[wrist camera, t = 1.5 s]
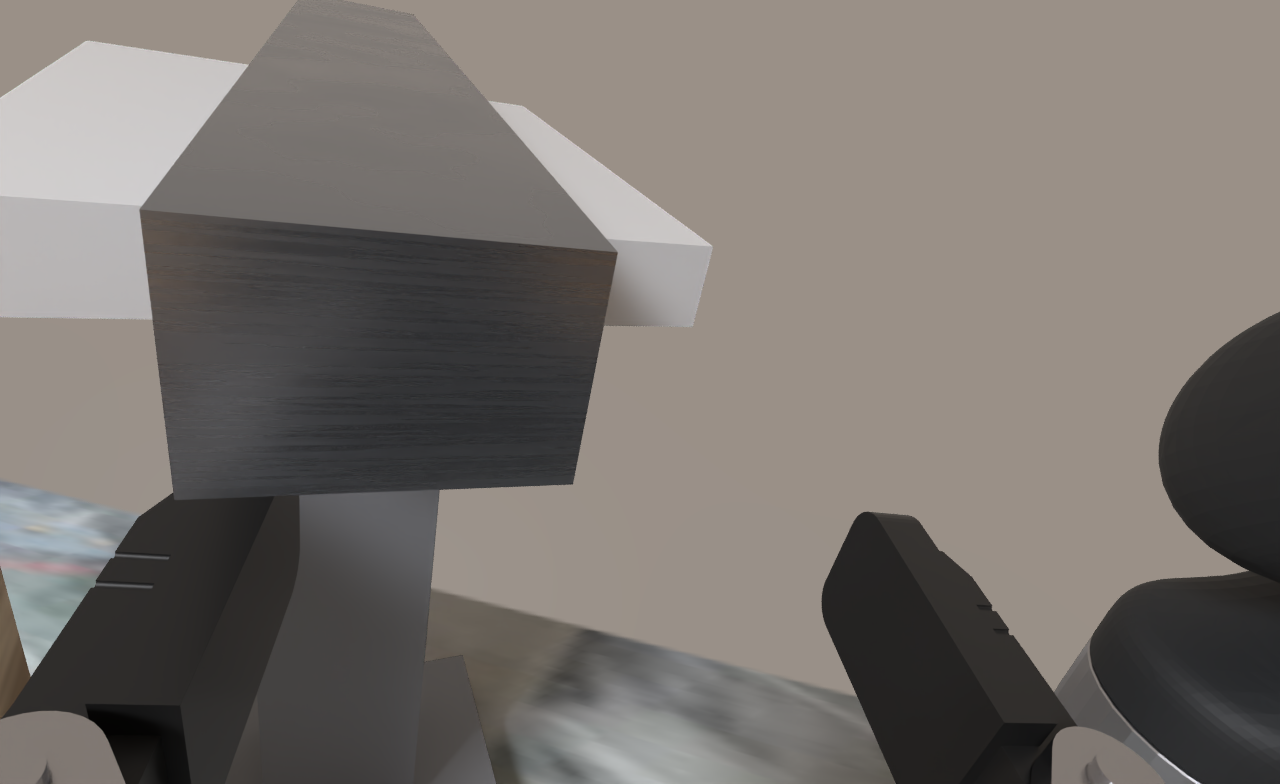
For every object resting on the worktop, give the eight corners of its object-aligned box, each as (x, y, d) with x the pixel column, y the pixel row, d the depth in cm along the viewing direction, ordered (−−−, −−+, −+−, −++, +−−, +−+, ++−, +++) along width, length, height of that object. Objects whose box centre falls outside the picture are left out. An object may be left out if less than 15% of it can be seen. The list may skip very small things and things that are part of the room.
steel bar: (409, 89, 27) (413, 14, 26) (572, 484, 7) (618, 251, 6) (304, 72, 25) (303, -8, 24) (174, 499, 6) (138, 209, 5)
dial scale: (456, 665, 44) (523, 106, 29) (529, 960, 31) (713, 246, 16) (181, 717, 37) (86, 40, 23) (137, 1111, 25) (-134, 185, 10)
